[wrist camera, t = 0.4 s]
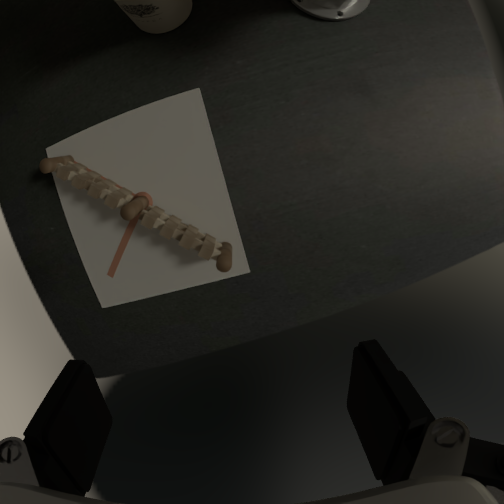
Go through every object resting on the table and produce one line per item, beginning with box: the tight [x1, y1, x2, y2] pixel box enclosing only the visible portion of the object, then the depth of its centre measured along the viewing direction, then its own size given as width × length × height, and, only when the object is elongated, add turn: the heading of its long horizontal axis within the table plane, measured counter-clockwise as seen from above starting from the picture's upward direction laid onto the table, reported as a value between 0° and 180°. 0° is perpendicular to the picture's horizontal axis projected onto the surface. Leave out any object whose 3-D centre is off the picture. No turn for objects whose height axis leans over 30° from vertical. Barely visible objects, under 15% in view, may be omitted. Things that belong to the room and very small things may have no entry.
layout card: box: [46, 88, 250, 308], centre depth 40 cm, size 25×23×1 cm
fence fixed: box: [40, 155, 149, 221], centre depth 36 cm, size 14×2×6 cm, turn 59°
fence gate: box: [138, 205, 232, 272], centre depth 38 cm, size 12×2×6 cm, turn 59°
